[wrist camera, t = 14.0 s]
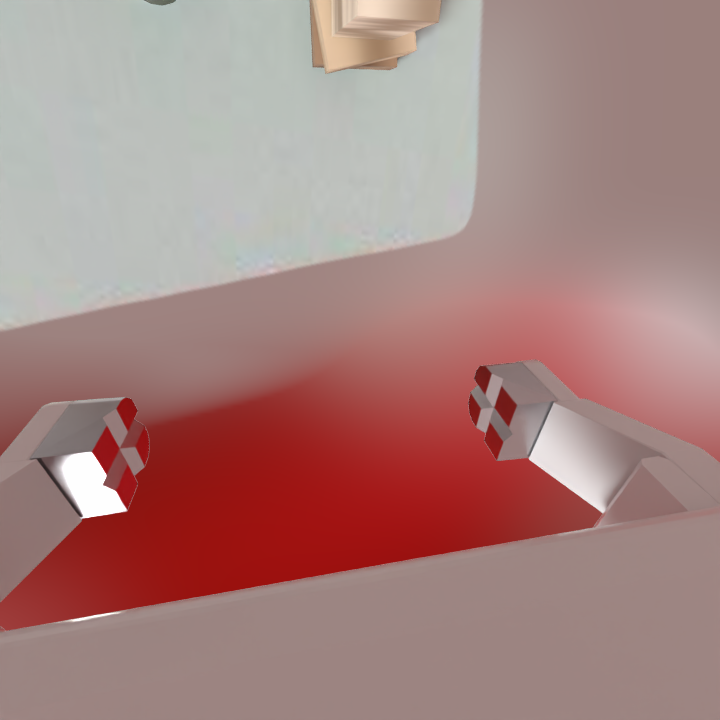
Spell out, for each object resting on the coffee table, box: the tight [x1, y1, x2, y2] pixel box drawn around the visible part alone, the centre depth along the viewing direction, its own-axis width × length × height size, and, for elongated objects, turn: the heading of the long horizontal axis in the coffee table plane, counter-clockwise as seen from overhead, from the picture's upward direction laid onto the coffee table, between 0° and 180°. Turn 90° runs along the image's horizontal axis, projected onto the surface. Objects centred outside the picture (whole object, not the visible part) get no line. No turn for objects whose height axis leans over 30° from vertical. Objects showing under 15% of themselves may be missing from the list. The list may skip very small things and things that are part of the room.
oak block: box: [312, 0, 416, 74], centre depth 27 cm, size 7×7×3 cm
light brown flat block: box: [310, 0, 397, 70], centre depth 29 cm, size 7×7×3 cm
